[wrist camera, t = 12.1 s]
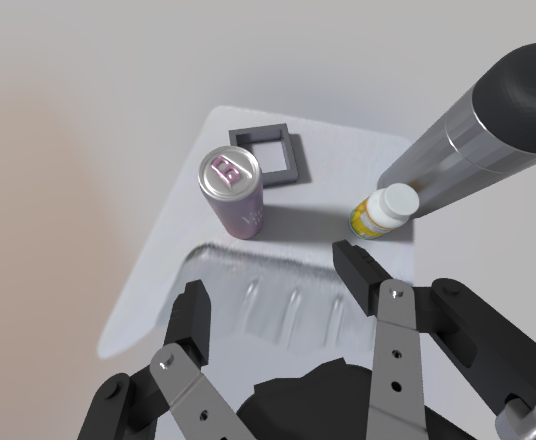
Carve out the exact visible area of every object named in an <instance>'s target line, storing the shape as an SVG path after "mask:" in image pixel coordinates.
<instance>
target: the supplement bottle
mask: <svg viewBox="0 0 536 440" xmlns="http://www.w3.org/2000/svg"><path fill="white" fill-rule="evenodd" d="M418 207H419V197H418V195H417V193H416V192H415V191H414V189H412V188H411V187H410V186H408V185H406V184H402V183H396V184H392V185H390V186H389V187H388V188H383V189H379V190H377V191H375V192H373V193H372V194H371V195H370V196H369V197H368V198H367V199H365V200H364V201H363V202H362V203H361V204H360V205H359V206H358V207H356V208H355V209H354V210H353V211H352V213H351V215H350V218H349V225H350V228H351V230H352V231H353V232H354V233H355V234H356V235H357V236H358V237H360V238H363V239H374V238H377V237H379V236H381V235H383V234H385V233H387V232H390V231H392V230H394V229H396V228H398V227H400V226H402V225H404V224H405V223H406V222H407V220H408V219H409V217H410V215H411V214H413V213H414V212H416V211H417V209H418Z"/></svg>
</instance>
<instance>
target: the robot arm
mask: <svg viewBox="0 0 536 440" xmlns="http://www.w3.org/2000/svg"><path fill="white" fill-rule="evenodd" d="M535 164H536V43H534V44H529V45H526V46H522V47H520V48H518V49H515V50H513V51H512V52H510V53H508V54H507V55H505V56H504V57H503V58H501V59H500V60H499V61H498V62H497V63H496V64H495V65H494V66H493V67H492V68H491V69H490V70H489V71H487V73H485V74H484V75H483V76H482V77H481V78H480V79H479V80H478V81H477V82H476V83H475V84H474V85H473V86H472V87H471V88H470V89H469V90H468V91H467V92H466V93H465V94H464V95H463V96H462V97H461V98H460V99H459V100H458V101H457V102H456V103H455V104H454V105H453V106H452V107H451V108H450V109H449V110H448V111H447V112H446V113H445V114H444V115H443V116H442V117H441V118H440V119H438V120H437V122H435V123H434V124H433V125H432V126H431V127H430V128H429V129H428V130H427V131H426V132H425V133H424V134H423V135H422V136H421V137H420V138H419V139H418V140H417V141H416V142H415V143H414V144H413V145H412V146H411V147H410V148H409V149H408V150H407V151H406V152H405V153H404V154H403V155H402V156H401V157H400V158H398V159H397V160H396V161H395V162H394V163H393V164H392V165H391V166H390V167H389V168H388V169H387V170H386V171H385V172H384V173H383V174H382V175H381V177H380V179H379V181H378V185H377V190H379V189H383V188H388V187H389V186H390V185H392V184H396V183H402V184H406V185H408V186H410V187H411V188H412V189H414V191H415V192H416V193H417V195H418V197H419V207H418V209H417V211H416V212H414V213H413V214H411V215H410V217H409V219H415V218H420V217H422V216H424V215H427V214H429V213H431V212H433V211H435V210H438V209H440V208H442V207H444V206H446V205H449V204H451V203H453V202H455V201H457V200H460V199H462V198H464V197H466V196H468V195H470V194H473V193H475V192H477V191H479V190H481V189H483V188H486V187H488V186H490V185H492V184H494V183H496V182H499V181H501V180H503V179H505V178H507V177H509V176H512V175H514V174H516V173H518V172H520V171H522V170H524V169H526V168H529V167H531V166H533V165H535ZM332 248H333V263H334V267H335V269H336V271H337V273H338V275H339V276H340V277H341V279H342V280H343V282H344V283H345V285H346V286H347V288H348V289H349V291H350V292H351V294H352V295H353V297H354V298H355V300H356V301H357V302H358V304H359V305H360V307H361V308H362V310H363V311H364V313H365V314H366V316H367V317H369V316H372V315H375V317H376V318H377V326H376V336H375V347H374V359H373V371H371V370H369V369H367V368H364V367H362V366H358V365H351V364H346V362H345V360H344V358H343V357H342V358H339V359H336V360H333V361H330V362H326V363H323V364H321V365H319V366H318V367H316V368H315V369H314V370H312V371H311V372H309V373H308V374H306V375H305V376H303V377H301V378H275V379H272V380H269V381H266V382H263V383H260V384H256V385H254V391H255V393H254V394H253V395H251V396H250V397H249V398H248V399H247V400H246V401H245V402H244V403H243V404H242V405H241V407H240V408H239V410H238V411H237V413H236V414H235V413H234V411H233V410H232V409H231V407H230V406H229V405H228V404H227V402H226V401H225V400H224V399H223V398H222V396H221V395H220V394H219V393H218V391H217V390H216V389H215V388H214V387H213V385H212V384H211V383H210V381H209V380H208V379H207V378H206V376H205V375H204V374H203V373H201V367H202V366H205V365H208V357H209V340H210V322H211V301H210V298H209V295H208V293H207V291H206V289H205V287H204V285H203V283H202V281H201V280H200V279H199V280H195V281H192V282H188V283H186V287H185V292H184V293H183V294H179V295H178V297H177V299H176V300H175V302H174V304H173V308H172V313H171V316H170V320H169V324H168V328H167V332H166V337H165V340H164V345H163V347H162V348H161V349H160V350H158V351H157V353H156V354H155V355H154V357H153V358H152V360H151V363H150V364H149V365H148V366H147V367H145V368H143V369H142V370H140V371H138V372H137V373H135V374H133V375H132V376H130V377H129V376H128V375H127V374H125V373H119V374H116V375H114V376H112V377H110V378H109V379H108V380H107V381H105V382H104V383H103V384H102V386H101V387H100V388H99V389H98V391H97V392H96V394H95V396H94V398H93V400H92V403H91V405H90V408H89V410H88V413H87V416H86V418H85V421H84V423H83V426H82V428H81V431H80V433H79V436H78V439H77V440H154V438H155V432H156V425H157V419H158V417H160V416H161V415H163V414H164V413H165V412H167V411H168V410H170V412H171V414H172V415H173V417H174V419H175V421H176V423H177V424H178V426H179V428H180V430H181V431H182V433H183V435H184V437H185V439H186V440H477V439H475V438H474V437H472V436H471V435H469V434H468V433H466V432H465V431H463V430H462V429H460V428H458V427H457V426H456V425H454V424H453V423H451V422H450V421H448V420H447V419H445V418H444V417H442V416H441V415H439V414H438V413H436V412H435V411H433V410H431V409H430V408H428V407H427V406H425V405H424V394H423V380H422V367H421V352H420V337H419V333H429V335H430V336H431V337H432V338H433V339H434V341H435V342H436V343H437V344H438V346H439V347H440V348H441V349H442V350H443V352H444V353H445V354H446V355H447V356H448V358H449V359H450V360H451V361H452V363H453V364H454V365H455V366H456V368H457V369H458V370H459V371H460V372H461V374H462V375H463V376H464V377H465V379H466V380H467V381H468V382H469V383H470V385H471V386H472V387H473V388H474V389H475V391H476V392H477V393H478V394H479V396H480V397H481V398H482V399H483V400H484V402H485V403H486V404H487V405H488V406H489V408H490V409H491V410H492V411H493V413H494V414H495V415H496V416H497V418H496V420H495V427H496V431H497V434H498V436H499V437H500V439H501V440H536V342H534V341H533V340H532V339H531V338H529V337H528V336H527V335H526V334H524V333H523V332H522V331H521V330H519V329H518V328H517V327H516V326H515V325H513V324H512V323H511V322H510V321H508V320H507V319H506V318H505V317H503V316H502V315H501V314H500V313H498V312H497V311H496V310H495V309H494V308H492V307H491V306H490V305H489V304H487V303H486V302H485V301H484V300H483V299H481V298H480V297H479V296H478V295H476V294H475V293H474V292H472V291H471V290H470V289H469V288H468V287H466V286H465V285H464V284H462V283H460V282H458V281H456V280H453V279H448V278H439V279H436V280H434V281H433V283H432V286H431V287H411V286H410V285H408V284H407V283H405V282H403V281H401V280H397V279H393V278H392V277H391V276H390V275H389V274H388V273H387V272H386V271H385V270H384V269H383V268H382V267H381V266H380V264H379V263H378V262H377V261H375V259H374V258H373V257H372V256H370V254H369V253H368V252H367V251H366V250H365V249H363V248H361V247H359V246H357V245H355V246H351V245H350V243H349V242H348V241H347V240H341V241H337V242H334V243H333V244H332Z"/></svg>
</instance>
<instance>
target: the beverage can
mask: <svg viewBox="0 0 536 440" xmlns="http://www.w3.org/2000/svg"><path fill="white" fill-rule="evenodd" d="M198 179H199V184H200V188H201V191H202V193H203V194H204V196H205V198H206V199H207V201H208V202H209V204H210V205H211V207H212V209H213V210H214V212H215V213H216V215H217V216H218V218H219V219H220V221H221V223H222V224H223V226H224V227H225V229H226V230H227V232H228V233H229V234H230V235H231V236H233V237H235V238H238V239H248V238H251V237H253V236H255V235H256V234H257V233H258V232H259V231H260V230H261V228H262V225H263V175H262V170H261V168H260V166H259V163H258V161H257V159H256V158H255V156H254V155H253V154H252V153H251V152H249V151H248V150H246V149H244V148H241V147H238V146H223V147H220V148H217V149H215V150H213V151H211V152H210V153H209V154H207V155H206V156H205V158H204V159H203V160H202V162H201V164H200V166H199V170H198Z"/></svg>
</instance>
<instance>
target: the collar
mask: <svg viewBox="0 0 536 440" xmlns="http://www.w3.org/2000/svg"><path fill="white" fill-rule="evenodd" d="M229 137H230V144H231V146H237V145H238V144H245V143H253V142H261V141H268V140H276V139H281V144H282V148H283V153H284V157H285V162H286V166H287V170H282V171H275V172H268V173H262V175H263V186H270V185H277V184H284V183H291V182H296V180H297V177H298V171H297V167H296V162H295V158H294V154H293V150H292V145H291V141H290V137H289V133H288V128H287V124H286V123H284V124H277V125H269V126H261V127H253V128H245V129H238V130H230V131H229Z"/></svg>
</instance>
